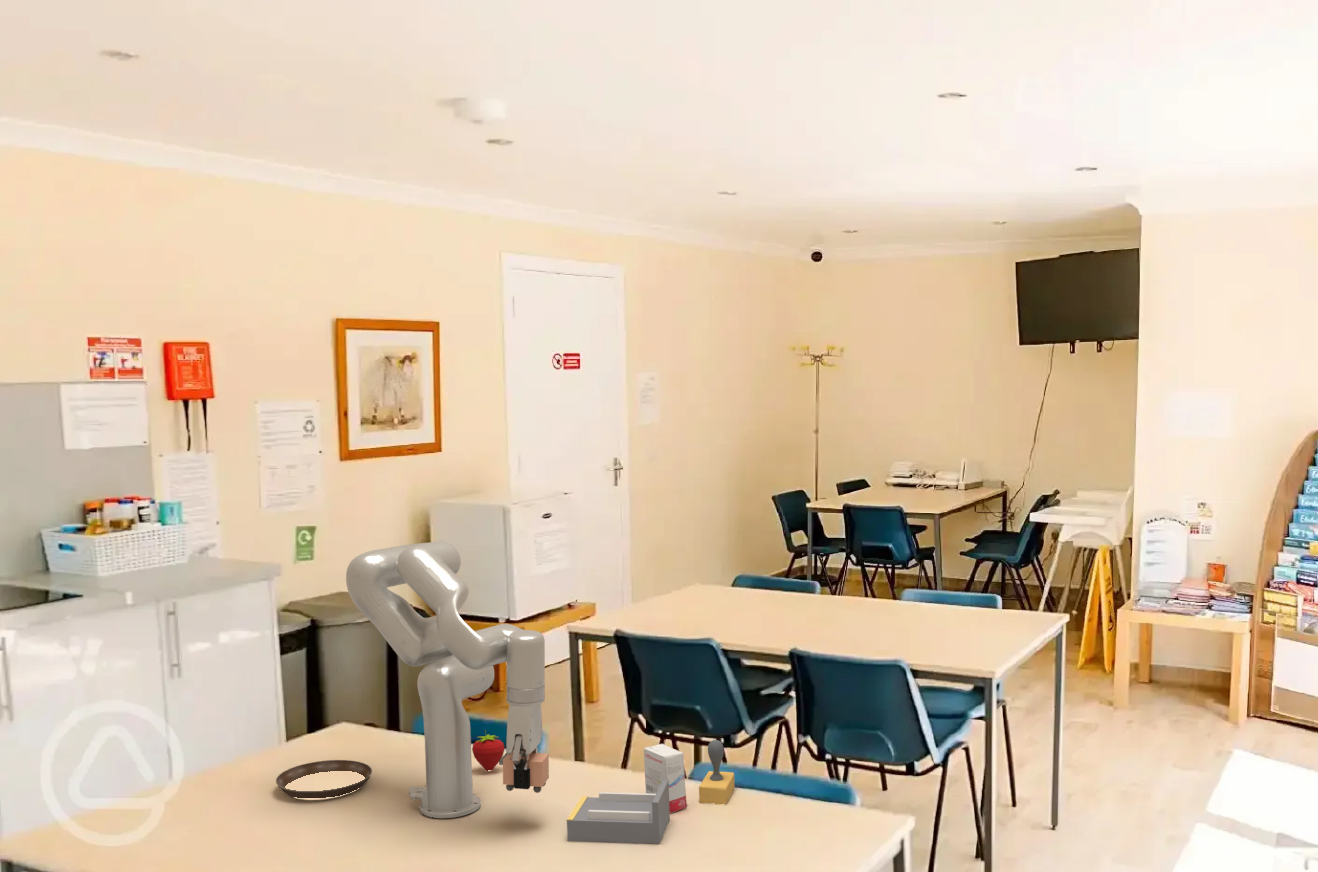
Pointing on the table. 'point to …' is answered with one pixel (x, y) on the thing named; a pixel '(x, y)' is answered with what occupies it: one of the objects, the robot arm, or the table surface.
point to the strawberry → (488, 751)
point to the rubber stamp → (716, 778)
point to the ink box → (666, 774)
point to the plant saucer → (323, 767)
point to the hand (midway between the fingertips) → (526, 782)
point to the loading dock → (621, 817)
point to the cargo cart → (536, 766)
